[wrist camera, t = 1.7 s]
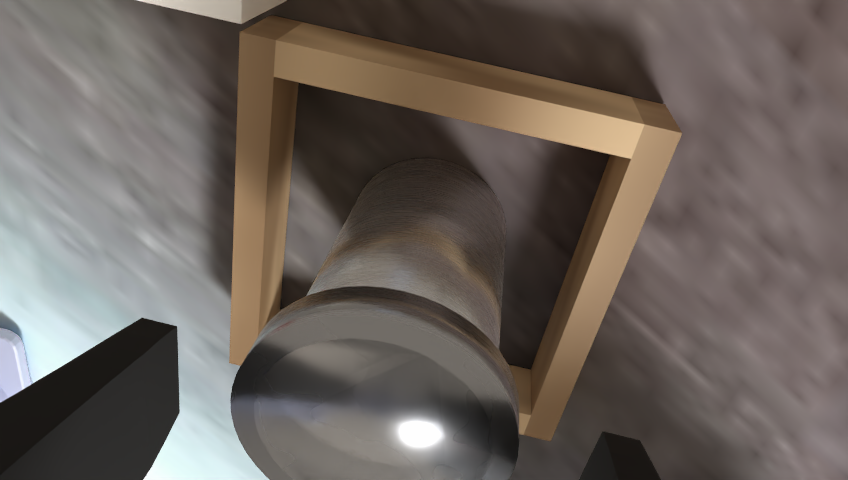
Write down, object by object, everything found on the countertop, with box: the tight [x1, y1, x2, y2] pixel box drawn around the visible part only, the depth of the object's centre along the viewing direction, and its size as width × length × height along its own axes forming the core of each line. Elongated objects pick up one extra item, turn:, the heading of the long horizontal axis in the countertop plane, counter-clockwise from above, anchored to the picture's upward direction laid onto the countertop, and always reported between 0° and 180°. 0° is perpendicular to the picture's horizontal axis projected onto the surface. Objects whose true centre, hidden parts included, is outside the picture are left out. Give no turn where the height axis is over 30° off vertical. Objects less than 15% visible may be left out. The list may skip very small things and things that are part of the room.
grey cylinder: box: [231, 158, 519, 480], centre depth 13 cm, size 5×5×7 cm
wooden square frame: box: [229, 15, 682, 441], centre depth 16 cm, size 9×9×2 cm
